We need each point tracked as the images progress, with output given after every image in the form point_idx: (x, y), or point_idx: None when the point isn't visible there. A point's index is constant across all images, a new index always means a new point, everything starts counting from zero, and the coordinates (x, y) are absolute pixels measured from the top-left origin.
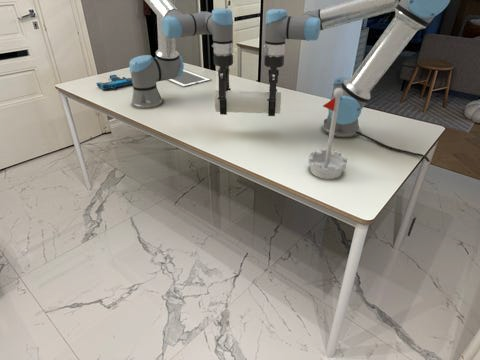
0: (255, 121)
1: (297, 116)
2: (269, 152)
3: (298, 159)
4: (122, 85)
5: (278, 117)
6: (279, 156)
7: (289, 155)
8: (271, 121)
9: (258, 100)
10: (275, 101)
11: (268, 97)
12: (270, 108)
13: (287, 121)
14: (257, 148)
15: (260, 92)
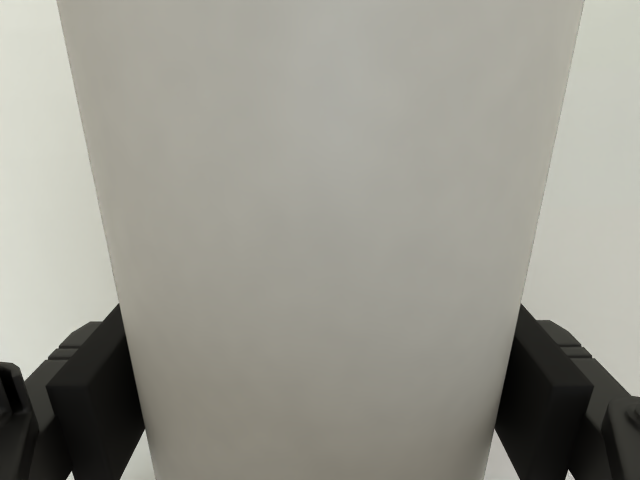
0: (585, 66)
1: (625, 375)
2: (43, 194)
3: (15, 350)
4: None
5: (634, 256)
6: (12, 254)
7: (45, 309)
8: (565, 204)
9: (91, 151)
10: (84, 473)
11: (153, 395)
12: (79, 331)
13: (548, 313)
14: (76, 107)
15: (308, 236)
